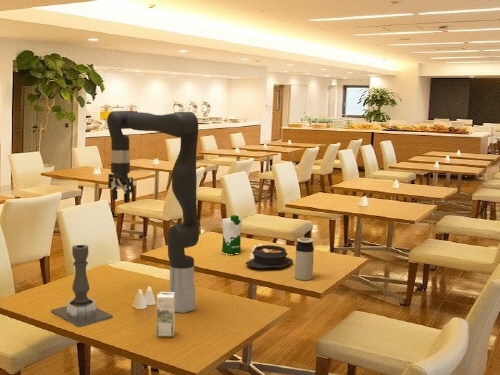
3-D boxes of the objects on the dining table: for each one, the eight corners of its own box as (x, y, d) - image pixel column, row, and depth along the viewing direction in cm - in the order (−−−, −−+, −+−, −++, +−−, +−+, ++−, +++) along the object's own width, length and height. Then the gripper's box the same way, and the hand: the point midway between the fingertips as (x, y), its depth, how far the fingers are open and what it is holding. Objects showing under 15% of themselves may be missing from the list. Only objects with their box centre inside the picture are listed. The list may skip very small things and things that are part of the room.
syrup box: (174, 330, 223) (175, 291, 220) (173, 337, 217) (173, 296, 214) (158, 330, 222) (158, 290, 220) (156, 337, 217) (156, 296, 214)
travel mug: (292, 279, 286) (294, 240, 283) (297, 274, 293) (298, 236, 291) (310, 281, 283) (311, 242, 281) (314, 276, 291) (315, 238, 288)
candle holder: (72, 315, 232) (71, 249, 228) (72, 309, 238) (71, 244, 234) (89, 314, 234) (89, 248, 230) (89, 308, 240) (89, 244, 236)
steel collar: (112, 317, 233) (112, 305, 233) (78, 327, 224) (78, 314, 223) (84, 303, 247) (83, 291, 246) (50, 311, 237) (50, 299, 237)
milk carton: (229, 256, 321) (230, 217, 318) (219, 252, 328) (219, 214, 325) (243, 254, 327) (244, 215, 323) (232, 250, 333) (233, 213, 330)
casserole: (262, 274, 292) (263, 257, 291) (237, 265, 306) (237, 248, 305) (301, 266, 308) (302, 249, 307) (275, 257, 322) (276, 241, 321)
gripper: (138, 162, 252) (138, 202, 254) (118, 158, 262) (118, 197, 264) (122, 163, 246) (122, 204, 249) (102, 159, 256) (102, 199, 259)
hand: (120, 201), depth 257 cm, fingers open, 8 cm apart
